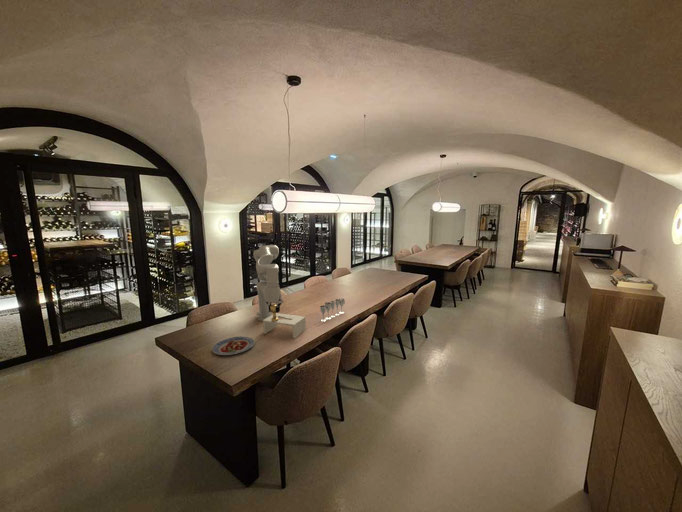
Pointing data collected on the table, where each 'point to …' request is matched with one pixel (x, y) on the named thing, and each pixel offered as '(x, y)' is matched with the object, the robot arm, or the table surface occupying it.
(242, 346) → the ceramic plate
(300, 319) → the keyhole shelf
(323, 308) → the goblet set
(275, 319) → the brass capped stopper
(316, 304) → the table surface
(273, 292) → the robot arm
